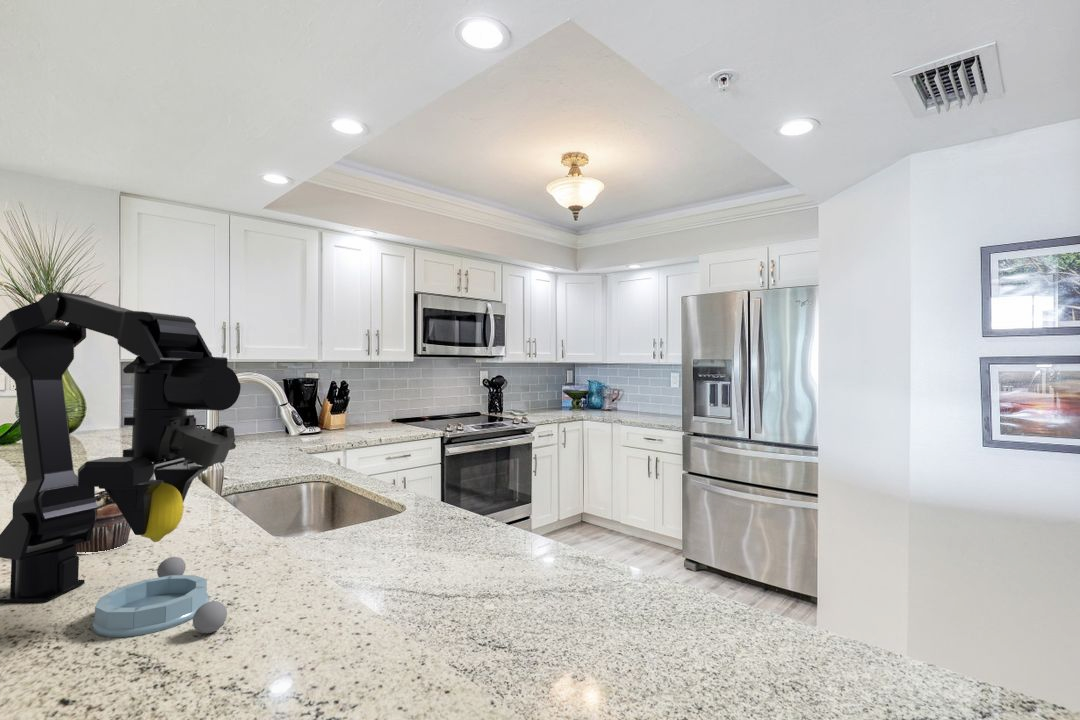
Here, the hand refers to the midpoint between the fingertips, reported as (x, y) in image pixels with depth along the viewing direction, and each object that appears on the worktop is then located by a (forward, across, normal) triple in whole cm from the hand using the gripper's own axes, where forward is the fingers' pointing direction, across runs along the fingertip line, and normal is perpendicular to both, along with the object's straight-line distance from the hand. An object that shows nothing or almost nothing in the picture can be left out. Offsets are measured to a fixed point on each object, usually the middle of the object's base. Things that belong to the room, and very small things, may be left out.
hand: (156, 527), depth 67 cm
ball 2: (+11, -5, -10) cm, 16 cm away
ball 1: (+11, +11, +5) cm, 16 cm away
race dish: (+11, 0, 0) cm, 11 cm away
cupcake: (+12, +27, +28) cm, 40 cm away
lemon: (+2, 0, 0) cm, 2 cm away
